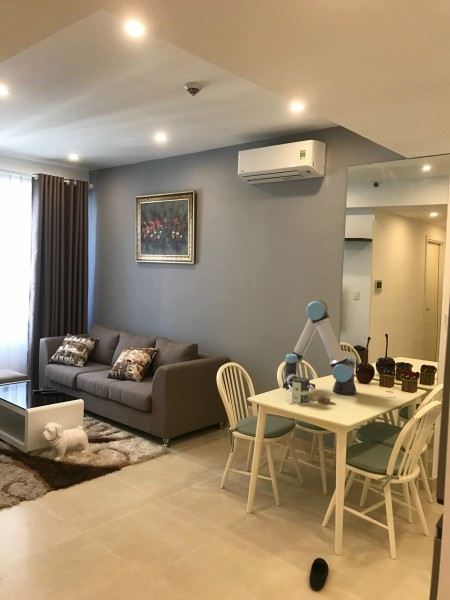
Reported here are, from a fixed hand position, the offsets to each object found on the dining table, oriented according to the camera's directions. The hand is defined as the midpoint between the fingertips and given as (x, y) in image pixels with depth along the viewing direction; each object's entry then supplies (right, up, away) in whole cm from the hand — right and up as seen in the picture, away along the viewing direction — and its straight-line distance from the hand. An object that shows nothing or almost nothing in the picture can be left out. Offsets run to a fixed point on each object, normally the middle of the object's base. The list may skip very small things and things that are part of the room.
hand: (302, 389), depth 289 cm
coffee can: (-1, -8, +4) cm, 9 cm away
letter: (0, -9, +4) cm, 9 cm away
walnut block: (+14, -9, +5) cm, 18 cm away
